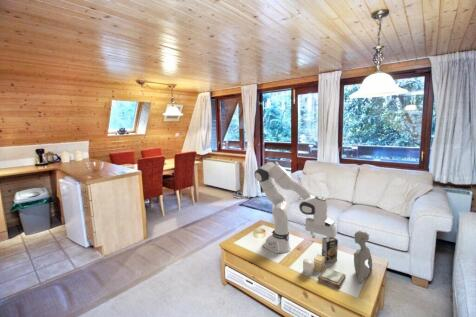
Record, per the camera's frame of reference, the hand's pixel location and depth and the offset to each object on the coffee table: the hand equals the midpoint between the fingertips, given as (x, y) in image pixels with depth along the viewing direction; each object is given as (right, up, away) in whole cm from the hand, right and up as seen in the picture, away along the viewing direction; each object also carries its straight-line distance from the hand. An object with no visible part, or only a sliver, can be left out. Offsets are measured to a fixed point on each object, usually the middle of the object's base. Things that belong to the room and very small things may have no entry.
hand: (320, 239), depth 165 cm
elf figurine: (+26, -22, -4) cm, 34 cm away
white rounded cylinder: (-8, -22, -1) cm, 23 cm away
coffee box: (+11, -19, +13) cm, 26 cm away
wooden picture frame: (+5, -23, -9) cm, 25 cm away
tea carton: (0, -21, +3) cm, 21 cm away
